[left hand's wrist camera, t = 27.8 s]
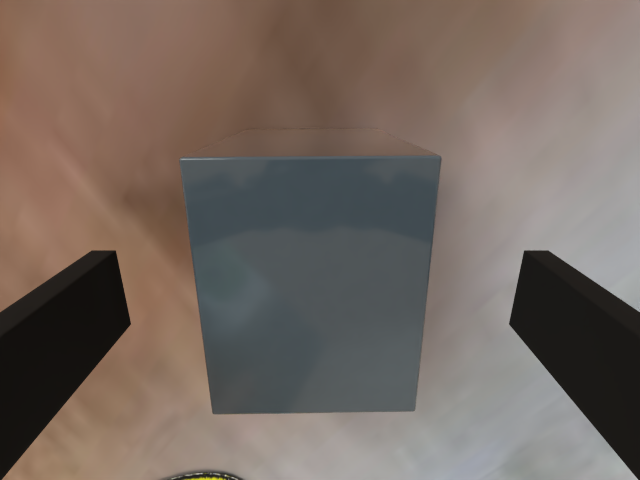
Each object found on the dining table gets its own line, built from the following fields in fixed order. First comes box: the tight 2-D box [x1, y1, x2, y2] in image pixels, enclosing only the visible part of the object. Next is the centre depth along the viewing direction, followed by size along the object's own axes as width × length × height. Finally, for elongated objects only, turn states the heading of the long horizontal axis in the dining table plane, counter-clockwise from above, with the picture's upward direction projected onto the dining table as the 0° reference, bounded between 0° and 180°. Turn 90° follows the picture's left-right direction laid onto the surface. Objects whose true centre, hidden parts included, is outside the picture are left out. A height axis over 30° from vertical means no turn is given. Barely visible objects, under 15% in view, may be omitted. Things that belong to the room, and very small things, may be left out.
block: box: [179, 128, 441, 414], centre depth 17 cm, size 7×9×11 cm
